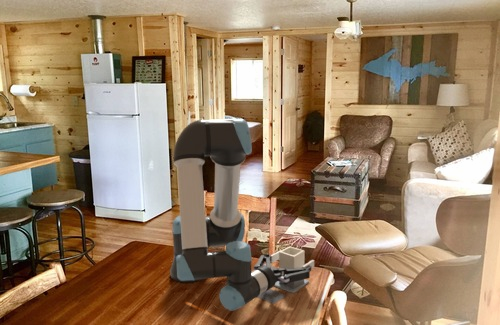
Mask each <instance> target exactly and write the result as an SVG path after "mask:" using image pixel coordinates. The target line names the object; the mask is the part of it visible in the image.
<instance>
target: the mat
mask: <svg viewBox="0 0 500 325" xmlns="http://www.w3.org/2000/svg"><path fill="white" fill-rule="evenodd" d="M285 297H287V295H286V294H284V293H281V292H279V291H276V290H273V289H272V288H270V289H269V290H267V291H265V292H264V293H262V294H261V295H259V296H258V297H257V298H258V299H260V300H262V301H265V302H268V303H270V304H272V305H275V304H276V303H278V302H280V301H281V300H283V298H285Z"/></svg>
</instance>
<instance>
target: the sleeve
mask: <svg viewBox="0 0 500 325" xmlns="http://www.w3.org/2000/svg"><path fill="white" fill-rule="evenodd" d="M281 250H282V251H280V250H279V251H280V252H279V260H278V268H279V269H280V268H285V269H296V268H302V266H303V265H305V253H306V252H305V250H304V249H301V248H296V247H293V246H288V247H286V248H284V249H281ZM282 276H283V271H282ZM302 283H304V279H303V280H299V281H295V282H290V283H288V284H286V285H285V284H284V282H283V281H279V284H282V285H284V286H287V287H290V288H292V289H295V288H296V287H298V286H299V285H301V284H302Z"/></svg>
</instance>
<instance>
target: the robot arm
mask: <svg viewBox="0 0 500 325" xmlns="http://www.w3.org/2000/svg"><path fill="white" fill-rule="evenodd" d="M252 146H253V144H252V138H251V132H250V127H249V124H248V122H247V121H246V119H243V118H234V117H232V118H225V119H224V118H221V119H218V118H217V119H198V120H195V121H193V122H190V123H189V124H188V125H186V127H184V128H183V129H182V131H181V132H180V134H179V136H178V137H177V140H176V142H175V144H174V149H173V155H172V156H173V165H174V166H175V167H176V168H177V184H178V186H177V187H178V199H179V202H178V203H179V215H178V216H176V217H175V218H174V219H173V221H172V230H171V233H172V239H173V260H172V264H171V267H170V269H169V272H170V278H171V279H173V280H174V281H176V282H178V283H184V284H185V283H186V284H187V283H189V284H190V283H197V282H199V281H203V280H207V279H213V278H215V279H216V278H224V277H225V278H226V285H224V286H223V287H222V288H221V289H220V291H219V293H218V294H219V295H218V296H219V301H220V303H221V305H222V306H223V308H225V309H226V310H228V311H229V312H234V311H237V310H239V309H240V308H243V307H244V306H246V305H247V304H248V303H250V302H251V301H253V300H254V299H256V298H258V296H259V295H261V294H262V293H264V292H265V291H267V290H269V289H272V288H273V287H275V286H274V285H275V283H276V282H277V281H283V282H284V284H285V285H286V284H288V283H290V282H295V281H299V280H303V279H305V280H308V279H311V278H310V276H311V275H310V272H311V271H312V270H313V269H314V268H315V260H314V259H311V260H309V261H308V262H307V263H304V265H303V266H302V268H296V269H285V268H280V269H279V267H276V266H272V265H271V266H270V264H274V263H275V262H277V261H279V252H280V251H282V250H283V249H280V250H277V252H276V251H275V252H274V253H271V254H270V253H266V254H265V255H264V254H262V255H260V257H259V259H258V261H257V262H256V263H255V264H254V265H253V270H252V252H251V251H252V250H251V245H250V244H249V243H248V242H246V241H244V238H245V234H246V229H245V227H246V220H245V217H244V214H242V213H241V212H240V210H239V209H238V207H239V206H238V205H239V193H240V192H239V191H240V177H241V176H240V175H241V165H242V164H243V163H244V162H245V161H246V157H247V156H248V155H251V154H252V151H253V148H252ZM246 155H247V156H246ZM205 157H210V159H211V161H212V162H213V163H214V198H213V199H214V200H213V203H214V204H213V208H212V209H211V211H210V213H209V215H207V216H206V206H205V193H204V192H205V191H204V180H203V179H204V178H203V176H204V175H203V165H204V164H205V162H206V159H205ZM224 246H225V249H224V250H219V251H217V250H216V251H209V248H212V247H214V248H216V247H224ZM264 264H266V266H263V265H264ZM282 271H283V276H282Z"/></svg>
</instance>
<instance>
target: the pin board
mask: <svg viewBox="0 0 500 325" xmlns="http://www.w3.org/2000/svg"><path fill="white" fill-rule="evenodd" d="M263 266H266V263H264V264H263ZM270 266H271V267H272V263H270ZM309 283H310V280H308V279H304V283H302V284H301V285H299V286H298V287H296V288H295V289H292V288H290V287H287V286H284V285H282V284H279V281H277V282H276V283H275V285H274V286H273V287H275V288H278V289H280V290H283V291H285V292H288V293H291V294H294V293H297V291H299V290H300V289H301V288H304V286H306V285H308V284H309Z"/></svg>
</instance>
